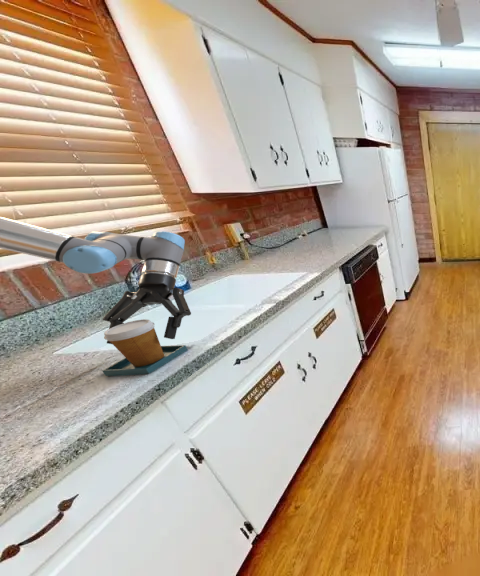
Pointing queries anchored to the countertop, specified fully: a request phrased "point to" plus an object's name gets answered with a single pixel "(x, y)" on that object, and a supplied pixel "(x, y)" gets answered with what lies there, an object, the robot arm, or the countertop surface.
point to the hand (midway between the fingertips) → (141, 341)
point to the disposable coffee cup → (136, 342)
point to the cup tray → (128, 369)
